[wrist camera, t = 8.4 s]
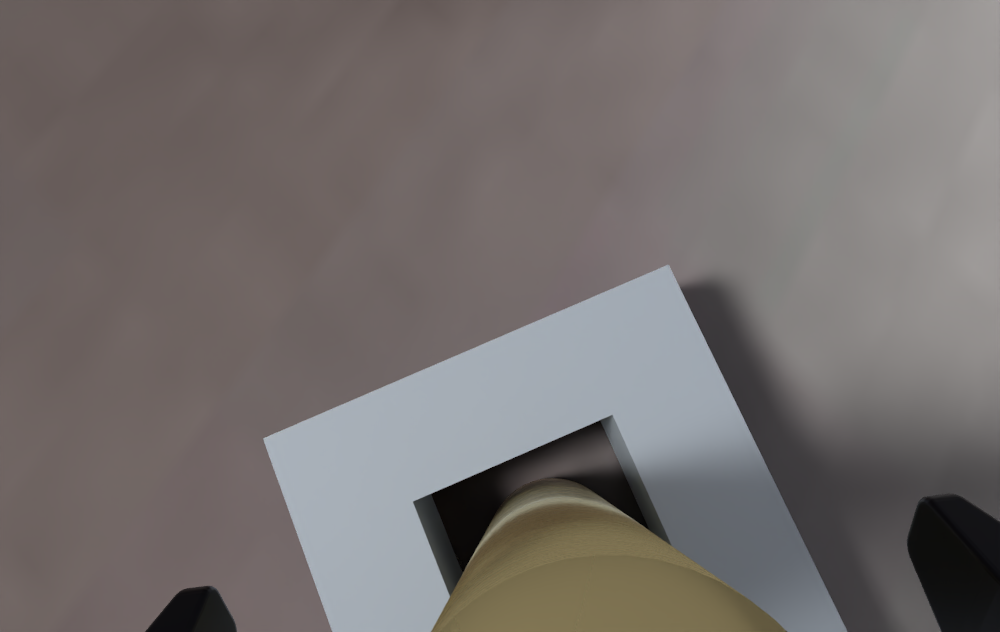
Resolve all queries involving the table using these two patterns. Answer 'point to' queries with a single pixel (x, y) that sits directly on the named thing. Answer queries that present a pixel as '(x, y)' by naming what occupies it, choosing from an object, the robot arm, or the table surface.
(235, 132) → the table surface
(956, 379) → the table surface
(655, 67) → the table surface
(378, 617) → the socket block
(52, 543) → the table surface
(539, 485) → the pin
